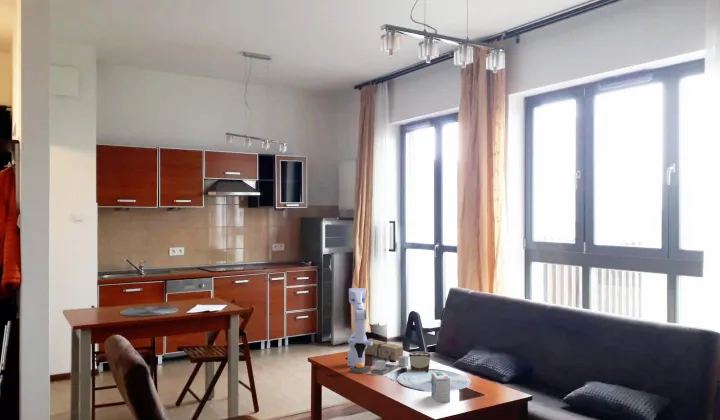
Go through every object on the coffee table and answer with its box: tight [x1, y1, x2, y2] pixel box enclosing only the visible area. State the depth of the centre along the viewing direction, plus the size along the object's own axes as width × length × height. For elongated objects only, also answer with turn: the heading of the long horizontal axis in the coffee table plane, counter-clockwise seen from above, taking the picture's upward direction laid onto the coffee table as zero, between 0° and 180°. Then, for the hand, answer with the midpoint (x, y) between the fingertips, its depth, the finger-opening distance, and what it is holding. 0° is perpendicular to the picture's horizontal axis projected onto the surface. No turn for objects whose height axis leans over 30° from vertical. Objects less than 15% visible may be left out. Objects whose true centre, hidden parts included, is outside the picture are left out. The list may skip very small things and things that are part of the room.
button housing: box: [349, 365, 371, 375], centre depth 305 cm, size 8×8×3 cm
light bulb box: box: [430, 371, 451, 403], centre depth 259 cm, size 11×7×11 cm, turn 5°
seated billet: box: [374, 359, 386, 372], centre depth 301 cm, size 4×4×6 cm
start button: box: [355, 363, 365, 369], centre depth 305 cm, size 4×4×3 cm
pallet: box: [366, 363, 402, 377], centre depth 305 cm, size 11×19×2 cm, turn 149°
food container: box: [408, 350, 432, 372], centre depth 309 cm, size 12×6×10 cm, turn 84°
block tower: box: [365, 338, 404, 362], centre depth 345 cm, size 8×8×29 cm
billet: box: [398, 355, 409, 368], centre depth 316 cm, size 4×4×6 cm
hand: (360, 357), depth 305 cm, fingers closed
